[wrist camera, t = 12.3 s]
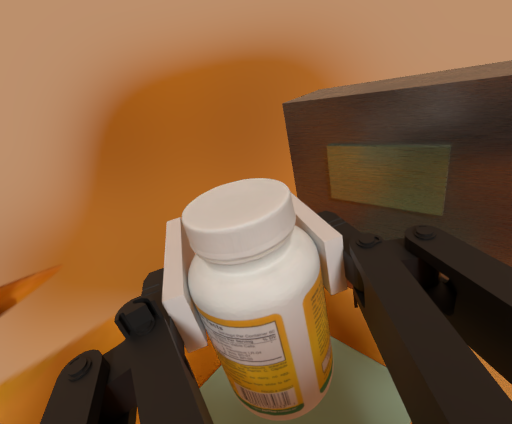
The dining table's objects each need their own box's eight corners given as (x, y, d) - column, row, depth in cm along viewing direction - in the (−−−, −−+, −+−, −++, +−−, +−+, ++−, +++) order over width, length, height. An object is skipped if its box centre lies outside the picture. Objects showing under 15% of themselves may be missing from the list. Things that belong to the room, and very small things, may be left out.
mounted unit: (307, 273, 27) (279, 104, 19) (335, 244, 30) (319, 89, 22) (493, 349, 17) (574, 68, 10) (505, 295, 20) (574, 51, 13)
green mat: (169, 428, 17) (165, 423, 17) (278, 310, 23) (277, 306, 23) (320, 660, 9) (318, 658, 9) (421, 393, 16) (422, 387, 15)
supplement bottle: (262, 455, 11) (177, 272, 6) (217, 355, 15) (149, 207, 11) (360, 375, 12) (344, 190, 8) (294, 306, 17) (261, 163, 13)
